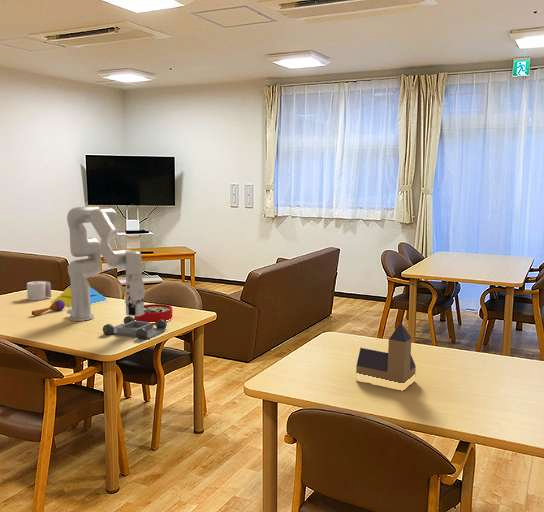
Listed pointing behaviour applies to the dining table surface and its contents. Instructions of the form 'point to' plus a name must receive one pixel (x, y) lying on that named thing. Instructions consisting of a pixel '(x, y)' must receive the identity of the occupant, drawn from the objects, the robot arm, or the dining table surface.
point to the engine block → (136, 308)
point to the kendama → (55, 306)
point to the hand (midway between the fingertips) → (135, 313)
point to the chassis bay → (136, 328)
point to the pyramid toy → (67, 297)
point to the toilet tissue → (38, 290)
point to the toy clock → (155, 313)
